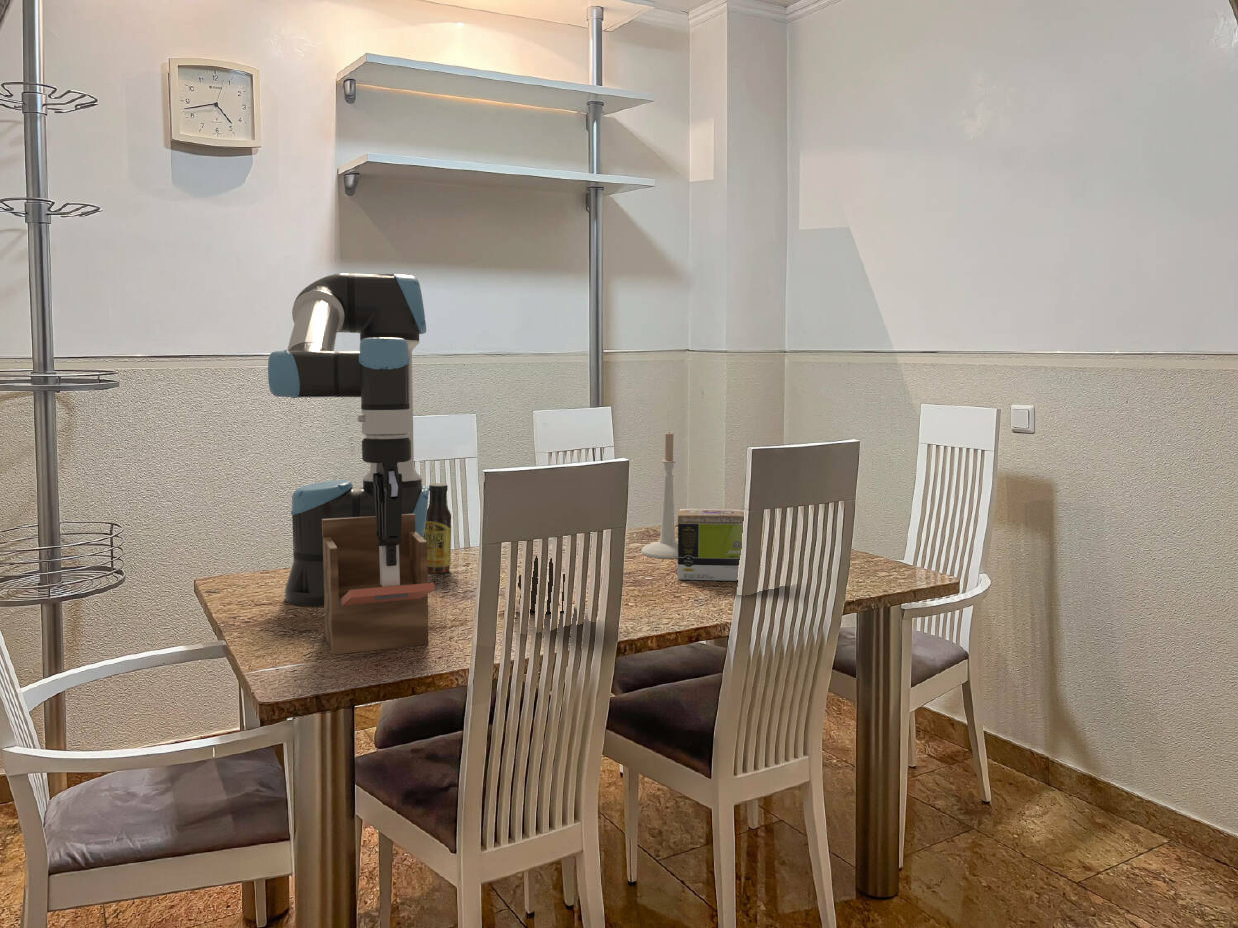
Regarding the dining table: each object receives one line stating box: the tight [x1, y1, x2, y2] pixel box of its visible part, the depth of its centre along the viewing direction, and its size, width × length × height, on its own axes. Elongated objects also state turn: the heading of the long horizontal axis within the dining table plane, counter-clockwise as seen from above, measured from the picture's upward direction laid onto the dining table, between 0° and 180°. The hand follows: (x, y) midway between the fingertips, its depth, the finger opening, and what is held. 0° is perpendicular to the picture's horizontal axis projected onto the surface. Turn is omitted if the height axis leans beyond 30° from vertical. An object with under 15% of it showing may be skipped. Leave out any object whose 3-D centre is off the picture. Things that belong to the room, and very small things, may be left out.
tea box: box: [677, 507, 744, 582], centre depth 225 cm, size 15×10×15 cm, turn 84°
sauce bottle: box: [423, 482, 452, 575], centre depth 226 cm, size 7×6×20 cm
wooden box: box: [322, 514, 430, 655], centre depth 175 cm, size 11×16×21 cm
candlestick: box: [640, 432, 678, 560], centre depth 247 cm, size 13×13×30 cm
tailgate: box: [339, 582, 436, 606], centre depth 165 cm, size 2×14×13 cm
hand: (390, 584), depth 161 cm, fingers closed
